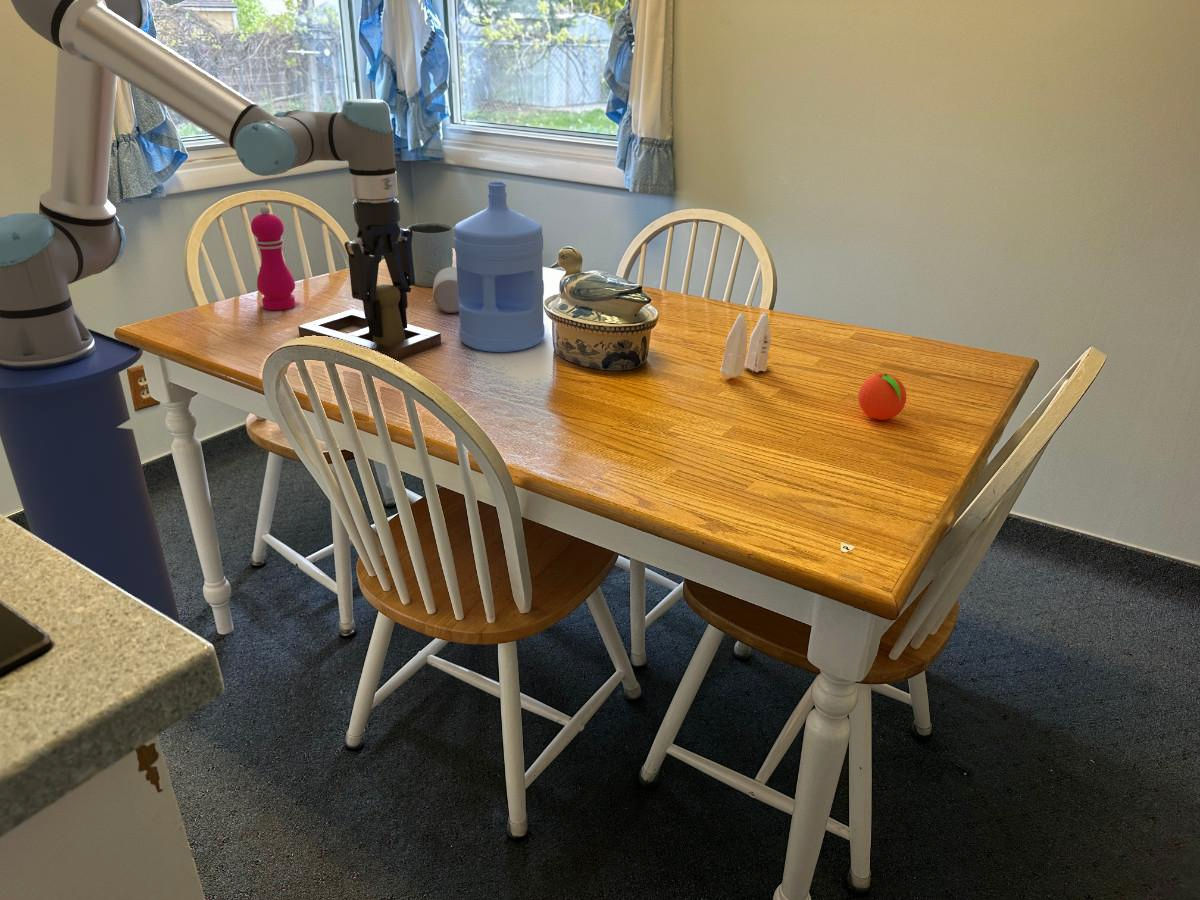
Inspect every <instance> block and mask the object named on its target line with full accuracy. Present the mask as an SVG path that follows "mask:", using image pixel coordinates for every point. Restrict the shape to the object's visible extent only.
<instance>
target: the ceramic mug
mask: <svg viewBox="0 0 1200 900" xmlns="http://www.w3.org/2000/svg"><path fill="white" fill-rule="evenodd" d="M432 298H433V301H434V304H435V305H436V306H437V308H438V309H439V310H441V311H442V312H445V313H447V314H456V313H459V304H458V293H457V267H455V266H452V267H447V268H444V269H442V270H441V271H439V272H438V274H437V275H436V277H435V279H434V286H433V287H432Z"/></svg>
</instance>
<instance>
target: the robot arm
mask: <svg viewBox="0 0 1200 900" xmlns="http://www.w3.org/2000/svg"><path fill="white" fill-rule="evenodd" d="M10 1H11V4H12V6H13V8H14V10H15V11H16V13H17V14H18V16H19V17H20V19H21V20H22V21H23V22H24V24H26V25H27V26H28V27H29V28H30V29H31V30H32V31H34V32H35V33H37V35H39V36H41V37H42V38H43V39H45V40H46V41H48V42H49V43H50V44H53V46H56V48H57V57H56V58H57V60H56V75H55V77H56V78H55V79H56V80H55V98H54V118H53V135H52V154H51V173H50V174H51V175H50V188H49V189H48V190H46V191H44V192H42V193H41V194H40V196H39V206H38V213H35V212H34V213H33V212H24V213H23V212H21V213H12V214H8V215H7V216H0V368H3V369H7V370H14V371H34V370H44V369H51V368H56V367H61V366H65V365H69V364H72V363H75V362H78V361H81V360H83V359H85V358H87V357H89V356H90V355H92V354H93V353H94V352H95V350H96V346H95V342H94V339H93V337H92V335H91V334H90V332H89V331H88V329H89V328H88V327H87V326H86V324H85V323H84V322H83V320H82V319H81V317H80V316H79V314H78V312H77V311H76V310H75V307H74V305H73V301H72V297H71V293H70V290H69V285H72V284H73V283H75V282H78V281H81V280H84V279H86V278H88V277H91V276H93V275H98V274H101V273H103V272H105V271H106V270H109V269H110V268H111V267H112V266H114V265H116V264H117V263H118V262H119V261H120V260H121V258H122V257H123V255H124V253H125V250H126V244H127V237H126V232H125V229H124V226H122V225H121V224H120V222H121V221H120V219H119V218H118V216H117V215H116V214H117V211H116V210H117V209H116V207H115V206H114V204H112V203H111V202H110V200H109V199H108V193H109V192H108V191H109V180H110V179H109V178H110V167H111V157H112V144H113V133H114V123H115V122H114V121H115V110H116V109H115V108H116V99H117V98H116V95H117V86H118V78H120V79H121V80H123V81H125V82H126V83H128V84H130V85H131V86H132V87H134V88H136V89H138V90H139V91H141V92H142V93H143V94H145V95H147V96H149V97H150V98H152V99H153V100H155V101H156V102H158V103H160V104H161V105H163V106H164V107H166V108H167V109H169V110H171V111H172V112H174V113H175V114H177V115H179V116H180V117H182V118H184V119H185V120H187V121H188V122H190V123H192V124H193V125H195V126H196V127H198V128H199V129H201V130H203V131H204V132H206V133H207V134H209V135H210V136H212V137H214V138H215V139H217V140H218V141H220V142H221V143H223V144H225V145H227V146H228V147H230V148H231V149H232V150H235V152H236V156H237V158H238V160H239V161H240V163H241V164H242V165H243V167H244V168H245V169H246V170H247V171H249V172H250V173H252V174H254V175H258V176H262V177H269V176H277V175H282V174H284V173H287V172H288V171H290V170H293V169H296V168H298V167H302V166H305V165H307V164H311V163H314V162H316V161H332V162H333V161H336V162H337V161H338V162H347V163H348V171H349V181H350V187H351V188H350V190H351V191H350V192H351V197H352V198H353V199H354V200H353V202H352V208H353V218H354V221H355V223H356V225H357V233H356V238H355V239H353V240H352V241H348V240H347V241H345V242H344V245H343V247H344V249H345V251H346V253H347V258H348V269H349V278H350V288H351V289H350V291H351V297H352V299H355V300H357V301H362V306H363V307H362V308H363V312H364V316H365V318H366V319H368V328H369V335H372V336H375V337H379V338H381V337H383V332H382V322H381V312H380V302H379V301H378V300H375V297H376V288H377V286H378V277H379V267H380V263H381V262H382V257H384V262H385V264H386V267H387V271H388V274H389V276H390V280H391V283H392V285H393V286H395V287H397V288H398V290H399V291H400V301H399V303H398V307H399V311H400V316H401V320H402V325H403V329H406V328H407V324H408V318H407V309H408V306H409V303H408V293H411V291H412V287H414V286H415V285H416V284H415V275H414V265H413V255H412V245H411V243H412V237H413V232H412V231H411V230H407V229H405V228H401V227H400V225H399V222H400V221H401V209H400V201H399V200H398V199H397V197H398V195H399V190H398V178H397V177H398V176H397V167H396V154H395V140H394V127H393V121H392V120H393V119H392V116H391V108H390V105H389V103H387V102H386V101H385V100H383V99H379V98H378V99H377V98H351V99H346V100H344V101H343V103H342V109H341V111H339V112H338V111H337V112H329V111H327V112H326V111H308V110H300V109H293V110H280V111H276V113H274V114H272V113H270V112H269V111H267V110H266V109H264V108H263V107H261V106H259V105H258V104H256V103H255V102H253V101H252V100H250V98H248V97H246V96H244V95H242V94H241V93H240V92H237V91H236V90H235V89H233V88H231V87H230V86H228V85H227V84H225V83H224V82H222V81H221V80H220V79H218V78H216V77H215V76H213V75H212V74H210V73H209V72H206V71H205V70H204V69H202V68H201V67H199V66H197V64H194V63H192V62H191V61H190V60H188V59H187V58H185V57H183V56H182V55H180V54H178V53H177V52H176V51H174V50H173V49H171V48H169V47H168V46H166V45H165V44H163V43H161V41H159V40H157V39H156V38H153V37H152V36H151V35H149V34H148V33H146V32H145V31H143V30H141V29H142V28H144V26H145V25H146V23H147V20H148V16H149V2H148V0H10Z"/></svg>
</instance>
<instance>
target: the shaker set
mask: <svg viewBox="0 0 1200 900" xmlns="http://www.w3.org/2000/svg"><path fill="white" fill-rule="evenodd" d="M749 338H750V339H749V343H748V332H747V323H746V315H745V313H743V312H740V313H739V314H738V315H737V317H736V320H735V322H734V323H733V325H732V328H731V329H730V331H729V333H728V335H727V337H726V341H725V347H724V353H723V357H722V361H721V366H720V368H719V371H720V373H721V375H722V376H723V377H724V379H725V380H729V379H733V378H735V377H738V376H741V375H743V374H745V371H744V369H749V370H751V371H752V373H754V372H755V373H759V372H760V371H762V372H766V371H768V370H767V367H768V359H769V353H770V347H771V341H772V339H771V329H770V321H769V314H768V312H766V311H764V312H763V313H762V314H761V315H760V317H759V319H758V321H757V322H756V325H755V327H754V328H753V331H752V332H751V334H750V337H749ZM747 348H748V349H747Z"/></svg>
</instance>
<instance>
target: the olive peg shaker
mask: <svg viewBox="0 0 1200 900" xmlns="http://www.w3.org/2000/svg"><path fill="white" fill-rule="evenodd" d="M375 300H378V301H379V302H380V312H381V322H382V332H383V337H381V338H379V337H375V336H373V342H375V343H379V344H382V345H385V346H390V345H393V344H395V343H398V342H401V341H404V340H406V338H405V333H404V329H403V325H402V320H401V316H400V311H399V307H398V303H399V301H400V291H399V290H398V288H397V287H395V286H393V284H377V288H376V297H375Z"/></svg>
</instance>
